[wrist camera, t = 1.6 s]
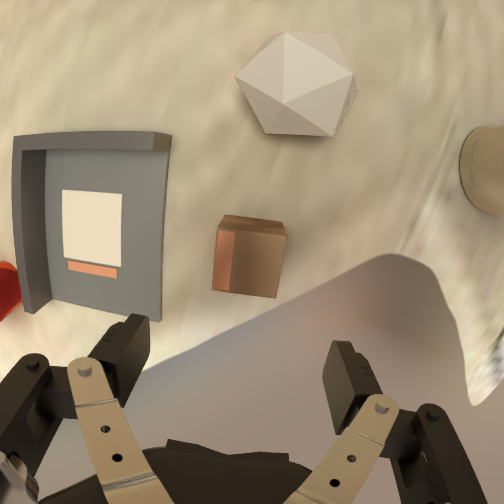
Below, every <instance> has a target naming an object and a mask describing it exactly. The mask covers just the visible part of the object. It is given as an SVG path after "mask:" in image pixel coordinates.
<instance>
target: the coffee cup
mask: <svg viewBox="0 0 504 504" xmlns="http://www.w3.org/2000/svg"><path fill="white" fill-rule="evenodd" d="M21 302H22V295H21V290H20V284H19V277H18V271H17V270H16V269H15V268H14V267H13V266H12V265H11V264H10V263H8V262H0V322H1V321H2V320H3V319H4V318H5V317H6V316H7V315H8V314H10V313H11V312H12V311H13V310H14V309H15V308H16V307H17V306H18V305H19V304H20V303H21Z"/></svg>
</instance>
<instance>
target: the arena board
mask: <svg viewBox="0 0 504 504" xmlns="http://www.w3.org/2000/svg"><path fill="white" fill-rule="evenodd" d="M171 137H172V135H168V134H163V133H158V132H145V131H83V132H60V133H44V134H32V135H21V136H14V140H13V155H12V219H13V234H14V245H15V255H16V263H17V270H18V277H19V284H20V290H21V295H22V300H23V306H24V310H25V312H28V313H31V314H35V313H36V312H37V311H38V310H39V309H41V308H42V307H43V306H44V305H45V304H47V303H48V302H49V301H50V300H52V299H56V300H60V301H64V302H68V303H72V304H76V305H80V306H84V307H88V308H92V309H97V310H101V311H106V312H110V313H115V314H120V315H124V316H130V314H131V313H135V314H140V315H145V316H148V317H149V320H150V321H155V322H160V321H161V292H162V251H163V230H164V213H165V199H166V186H167V175H168V164H169V155H170V146H171Z"/></svg>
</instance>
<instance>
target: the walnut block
mask: <svg viewBox="0 0 504 504" xmlns="http://www.w3.org/2000/svg"><path fill="white" fill-rule="evenodd" d="M286 238H287V236H286V232H285V229H284V226H283V223H282V222H278V221H271V220H263V219H256V218H248V217H241V216H233V215H225V216H224V218H223V219H222V221H221V223H220V224H219V226H218V230H217V238H216V248H215V259H214V269H213V280H212V290H214V291H221V292H229V293H236V294H244V295H252V296H260V297H268V298H276V296H277V291H278V285H279V279H280V274H281V268H282V262H283V256H284V250H285V244H286Z"/></svg>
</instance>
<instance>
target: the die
mask: <svg viewBox="0 0 504 504" xmlns="http://www.w3.org/2000/svg"><path fill="white" fill-rule="evenodd" d="M234 77H235V78H236V80H237V82H238V84H239V85H240V87H241V89H242V91H243V93H244V94H245V96H246V98H247V100H248V102H249V104H250V105H251V107H252V109H253V111H254V113H255V115H256V117H257V118H258V120H259V122H260V124H261V126H262V128H263V130H264V132H265V134H295V135H314V136H329V137H333V136H334V134H335V132H336V130H337V128H338V127H339V125H340V123H341V121H342V120H343V118H344V116H345V114H346V113H347V111H348V109H349V107H350V105H351V104H352V102H353V100H354V98H355V97H356V95H357V93H358V90H357V87H356V83H355V79H354V76H353V73H352V71H351V69H350V66H349V64H348V62H347V60H346V58H345V56H344V54H343V52H342V50H341V48H340V46H339V44H338V42H337V40H336V38H335V36H334V35H333V34H321V33H304V32H283V33H279V34H276V35H273V36H270V37H268V38H267V39H266V40H265V42H264V43H263V44H262V45H261V46H260V47H259V48H258V49H257V50H256V51H255V53H254V54H253V55H252V56H251V57H250V58H249V59H248V60H247V62H246V63H245V64H244V65H243V66H242V67H241V69H240V70H239V71H238V72H237V73H236V74H235V76H234Z"/></svg>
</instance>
